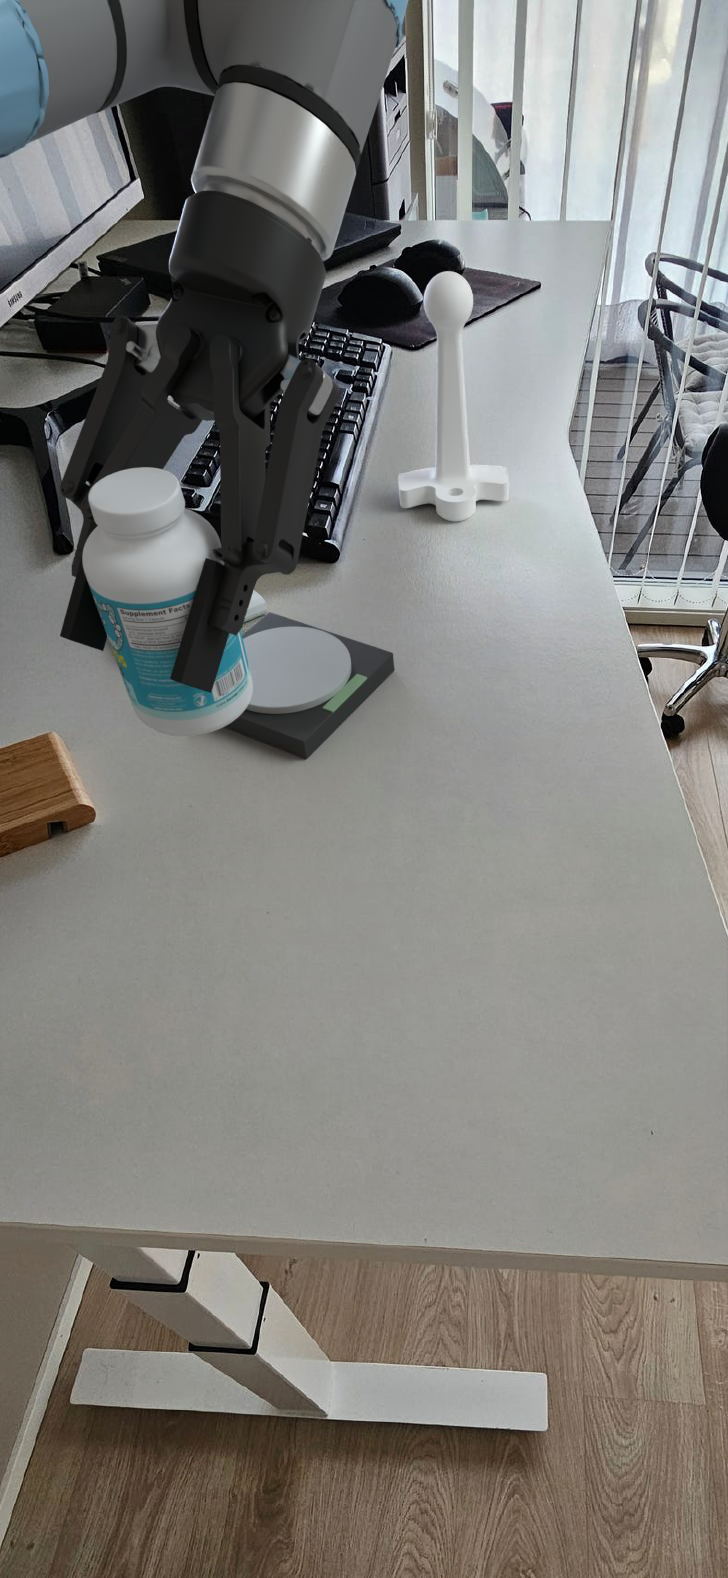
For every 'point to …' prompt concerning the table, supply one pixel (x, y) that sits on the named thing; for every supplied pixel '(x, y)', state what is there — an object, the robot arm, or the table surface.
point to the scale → (305, 682)
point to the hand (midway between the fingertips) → (135, 664)
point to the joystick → (451, 416)
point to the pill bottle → (158, 599)
